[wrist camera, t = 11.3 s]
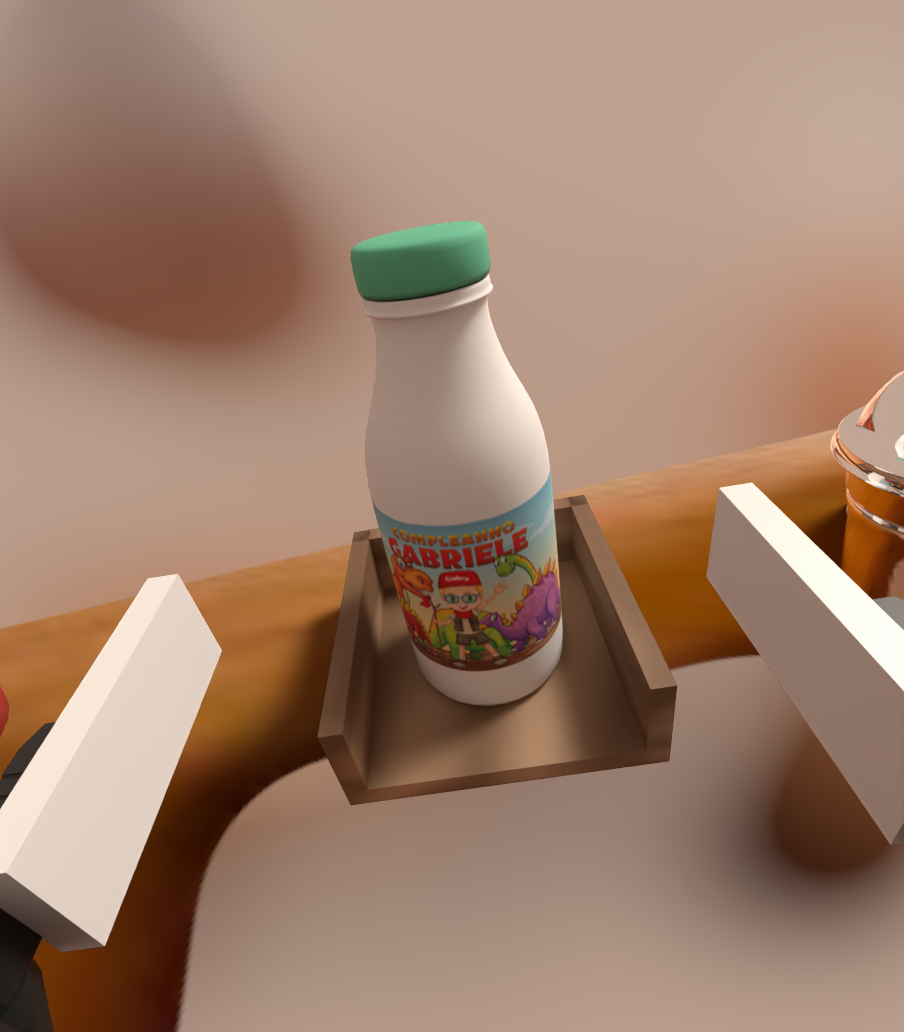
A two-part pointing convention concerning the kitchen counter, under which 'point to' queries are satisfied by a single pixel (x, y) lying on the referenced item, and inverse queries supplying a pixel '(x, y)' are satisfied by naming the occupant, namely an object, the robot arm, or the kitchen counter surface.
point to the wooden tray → (505, 727)
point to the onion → (3, 711)
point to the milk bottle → (458, 469)
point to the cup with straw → (874, 492)
